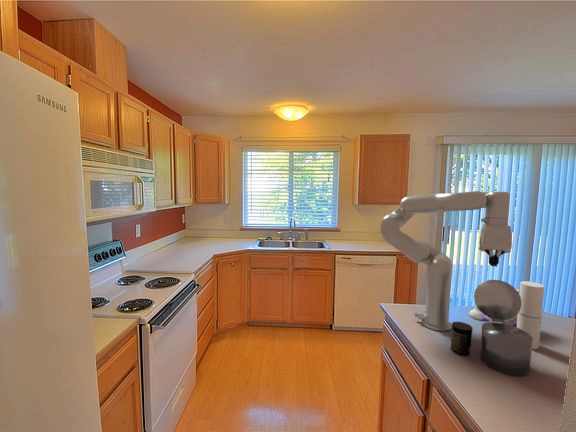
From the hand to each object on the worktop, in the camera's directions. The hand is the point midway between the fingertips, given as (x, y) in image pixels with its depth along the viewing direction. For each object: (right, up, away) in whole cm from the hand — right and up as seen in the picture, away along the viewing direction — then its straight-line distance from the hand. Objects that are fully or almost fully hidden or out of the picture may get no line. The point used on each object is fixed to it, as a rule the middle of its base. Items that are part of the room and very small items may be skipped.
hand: (493, 265), depth 114 cm
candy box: (+16, -30, +14) cm, 37 cm away
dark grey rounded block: (-8, -32, -16) cm, 37 cm away
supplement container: (-19, -32, -8) cm, 38 cm away
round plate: (-5, -12, -9) cm, 15 cm away
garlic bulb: (+8, -30, +21) cm, 37 cm away
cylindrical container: (+12, -32, -3) cm, 34 cm away
